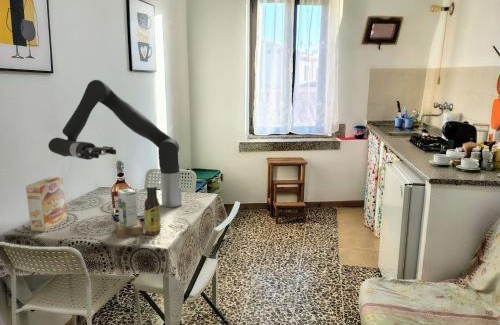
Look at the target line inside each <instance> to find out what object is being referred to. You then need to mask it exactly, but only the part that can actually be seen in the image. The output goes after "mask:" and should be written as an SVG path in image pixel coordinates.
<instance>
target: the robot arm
mask: <svg viewBox="0 0 500 325" xmlns="http://www.w3.org/2000/svg"><path fill="white" fill-rule="evenodd" d="M99 103H101V104H102V105H104V106H105V107H107V109H109V110H110V111H111V112H113V114H114V115H115V116H116V117H117V118H118V120H120V122H122V124H123V125H125V126H126V127H127V128H128V129H130V130H131V131H132V132H134V133H135V134H137V135H139V136H141V137H142V138H145V139H147V140H149V142H151V143H153V144H154V145H155V146H156V147H157V148H158V151H157V152H158V165H159V168H160V188H161V191H160V192H161V206H162V207H163V208H176V207H179V206H182V205H183V204H182V203H183V202H182V186H181V178H180V176H181V175H180V174H181V173H180V164H179V152H180V145H179V143H178V141H177V140H175V139H174V138H173V137H171V136H170V135H168V134H166V133H165V132H164V131H162V130H161V129H160V128H159V127H157V125H155V124H154V123H153V122H152V120H150V119H149V118H147V116H145V114H143V113H142V112H140V111H139V110H138V109H137V108H135V107H134V106H133V105H131V104H130V103H128V102H127V101H125V100H123V99H122V98H121V97H120V96H119V95H117V94H116V93H115V92H114V91H113V89H112V88H110V86H109V85H108V84H107V83H105V82H104V81H102V80H100V79H93V80H91V81H89V83H88V84H87V85H86V88H85V91H84V93H83V94H82V97H81V100H80V101H79V104H78V105H77V107H76V109H75V110H74V111H73V113H72V115H71V116H70V118H69V119H68V121H67V122H66V124H65V126H64V127H63V128H62V134H63V135H64V136H65V137H67V139H64V138H62V137H54V138H52V139H50V140H49V142H48V144H47V145H48V149H49V151H50V152H52V153H54V154H57V155H60V156H62V157H74V158H77V159H80V160H81V159H82V160H87V161H90V160H92V159H99V158H100V156H106V155H117V150H116V148H114V147H113V146H106V145H105V146H104V145H103V146H96V145H95V144H94V143H92V142H89V141H88V142H87V141H77V139H78V137H79V135H80V134H81V132H82V131H83V129H84V128H85V126H86V124H87V121H88V120H89V117H90V115H91V113H92V112H93V110H94V108H95V107H96V106H97V104H99Z"/></svg>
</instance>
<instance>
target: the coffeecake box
mask: <svg viewBox="0 0 500 325" xmlns="http://www.w3.org/2000/svg"><path fill="white" fill-rule="evenodd" d="M25 193H26V201H27V206H28V207H27V209H28V217H29V223H30V231H37V232H47V231H48V230H51V229H52V228H54V227H56V226H57V225H59V224H60V223H62V222H64V221H66V220H67V219H68V215H67V207H66V196H65V187H64V178H63V177H60V176H59V177H57V176H53V177H52V176H48V177H46V178H43V179H41V180H38V181H36V182H33V183H30V184H27V185H25Z"/></svg>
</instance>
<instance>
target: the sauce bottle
mask: <svg viewBox="0 0 500 325" xmlns="http://www.w3.org/2000/svg"><path fill="white" fill-rule="evenodd" d="M157 190H158V186H157V185H156V184H155V185H154V184H152V185H147V186H146V199H145V201H144V205H143V206H144V230H145V231H144V232H145V234H146V235H147V236H153V235H154V236H155V235H158V234H159V233H160V232H161V228H162V226H161V224H162V223H161V205H160V203H159V198H158V194H157V192H158V191H157Z"/></svg>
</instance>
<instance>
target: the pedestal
mask: <svg viewBox="0 0 500 325" xmlns="http://www.w3.org/2000/svg"><path fill="white" fill-rule="evenodd" d="M137 222H138V224H136V225H133V226H129V227H124V226H122V225H121V224H120V221H116V222H115V230H116V235H117V238H118V239H120V238H126V237H132V236H133V237H134V236H140V235H141V236H142V235H144V226H143V224H142V220H141V219H140V218H137Z"/></svg>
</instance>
